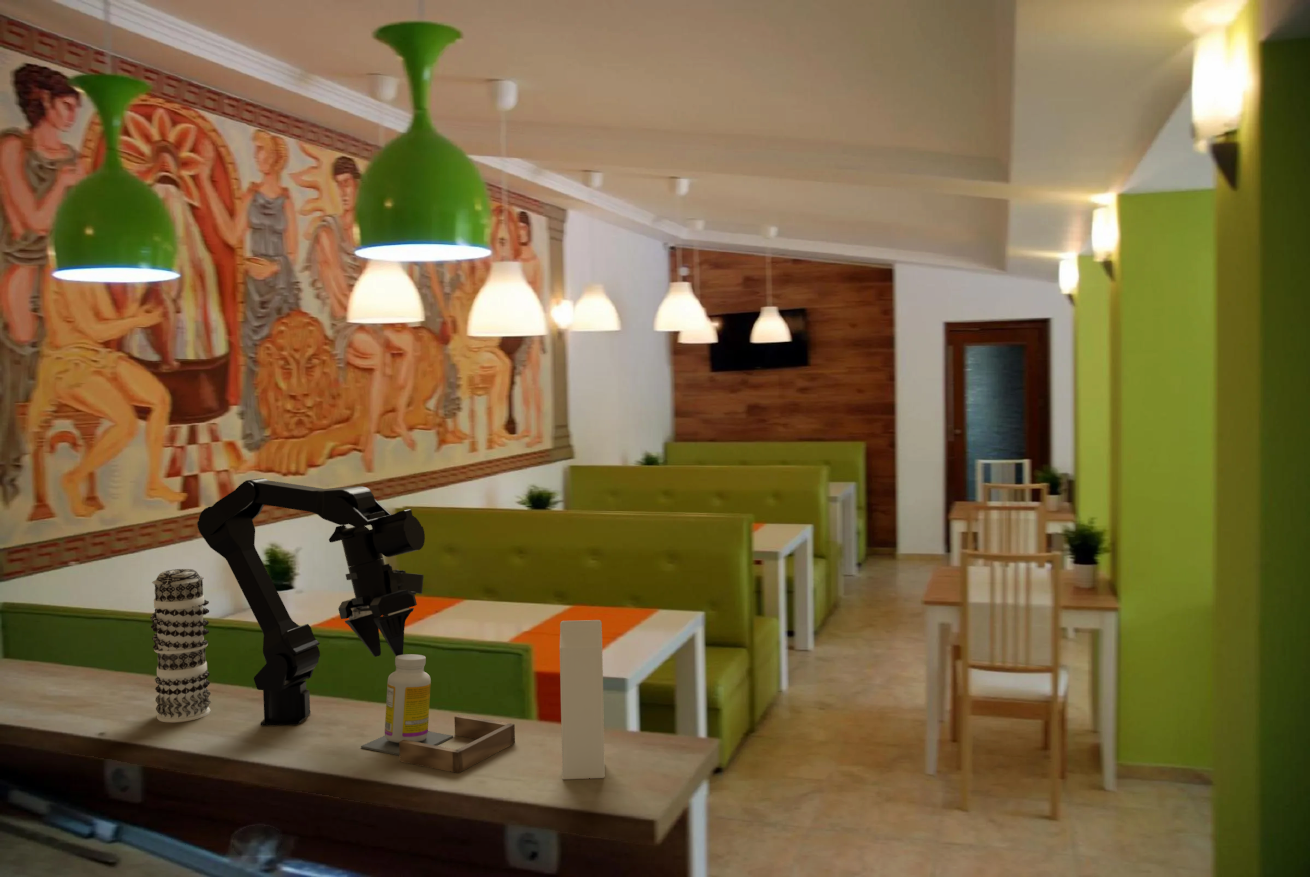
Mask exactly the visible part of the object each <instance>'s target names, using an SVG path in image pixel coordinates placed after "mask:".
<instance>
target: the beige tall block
mask: <svg viewBox="0 0 1310 877" xmlns="http://www.w3.org/2000/svg"><path fill="white" fill-rule="evenodd" d="M602 625H603V623H602V620H600V619H590V620H588V619H587V620H562V621H560V623H559V630H560V631H559V674H560V675H559V678H560V720H561V722H560V725H561V728H560V729H561V764H562V765H561V767H562V768H561V770H562V772H561V775H562V780H585V779H586V780H587V779H589V778H590V779H605V766H606V765H605V723H604V722H605V719H604V712H605V711H604V710H605V709H604V675H603V674H604V669H603V667H604V665H603V661H604V660H603V629H602V627H603V626H602Z"/></svg>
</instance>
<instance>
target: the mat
mask: <svg viewBox="0 0 1310 877" xmlns="http://www.w3.org/2000/svg"><path fill="white" fill-rule="evenodd" d="M453 738H454V736H453V735H451V734H447V733H441V732H437V731H436V732H435V731H429V730H428V735H427V737H426V739H424V740H422V741H420V742H419V743H424V744H430V745H435V746H439V745H440V744H443V743H444V742H446V741H449V740H450V739H453ZM360 748H361V749H363V750H364V749H365V750H369V751H370V750H371V751H374V752H378V753H379V752H380V753H384V754H390V755H395V756H400V752H399V743H396V742H391V741H389V740H387V739H386V738H385V735H383V736H380V737H378V738H376V739H373V740H371V741H369V742H367V743H365V744H362V745H360Z"/></svg>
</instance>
